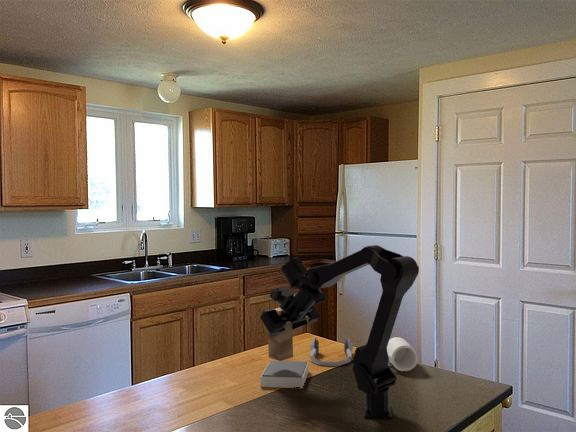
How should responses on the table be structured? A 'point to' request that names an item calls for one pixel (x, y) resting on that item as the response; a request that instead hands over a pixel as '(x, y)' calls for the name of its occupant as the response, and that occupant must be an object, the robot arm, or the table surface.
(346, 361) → the headphones
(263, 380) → the dock
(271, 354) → the tan tall cylinder
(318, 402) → the table surface
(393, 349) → the mug
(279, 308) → the cargo
